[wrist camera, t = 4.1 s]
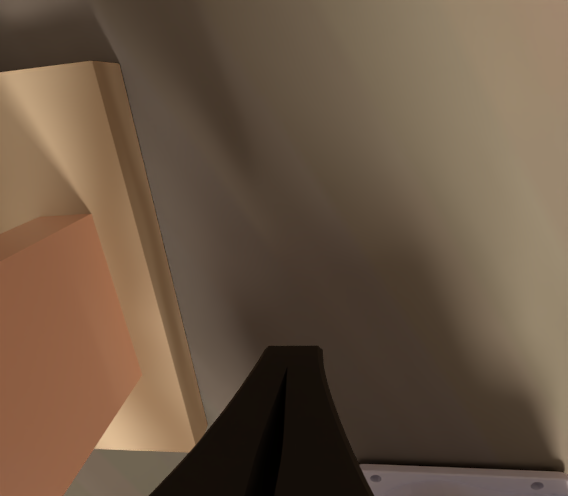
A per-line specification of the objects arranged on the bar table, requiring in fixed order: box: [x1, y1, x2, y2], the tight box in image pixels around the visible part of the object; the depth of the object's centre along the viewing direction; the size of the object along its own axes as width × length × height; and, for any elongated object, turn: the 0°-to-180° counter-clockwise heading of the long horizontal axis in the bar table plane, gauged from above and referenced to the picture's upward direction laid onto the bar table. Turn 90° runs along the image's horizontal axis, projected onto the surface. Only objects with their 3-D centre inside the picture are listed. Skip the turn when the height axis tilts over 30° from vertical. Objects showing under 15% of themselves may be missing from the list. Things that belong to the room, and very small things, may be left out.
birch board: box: [0, 61, 207, 452], centre depth 15 cm, size 14×16×2 cm
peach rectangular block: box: [0, 214, 142, 496], centre depth 10 cm, size 2×7×8 cm, turn 6°
